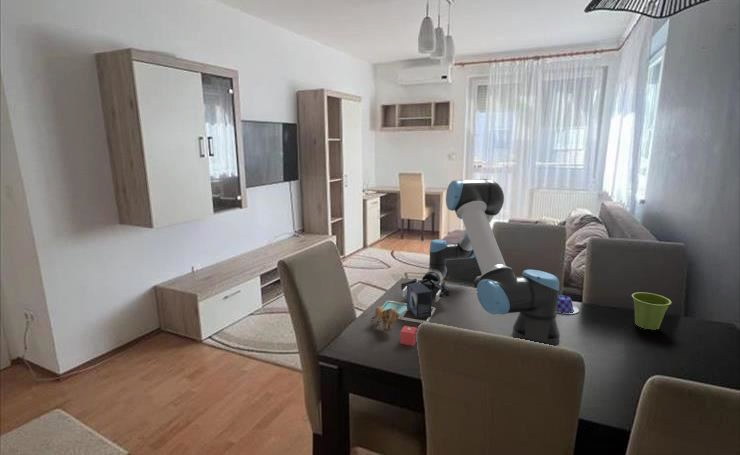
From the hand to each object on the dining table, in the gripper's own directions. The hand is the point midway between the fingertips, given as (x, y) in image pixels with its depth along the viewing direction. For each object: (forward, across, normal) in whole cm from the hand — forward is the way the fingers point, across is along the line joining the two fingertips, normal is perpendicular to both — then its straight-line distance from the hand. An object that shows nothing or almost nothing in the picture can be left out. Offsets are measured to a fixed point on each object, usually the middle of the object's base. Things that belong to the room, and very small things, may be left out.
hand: (419, 296), depth 162 cm
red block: (+26, -3, -6) cm, 27 cm away
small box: (+3, 0, -6) cm, 7 cm away
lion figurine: (+19, +8, -7) cm, 21 cm away
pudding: (-24, -53, -7) cm, 59 cm away
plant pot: (-17, -81, -7) cm, 83 cm away
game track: (+3, +4, -6) cm, 8 cm away
